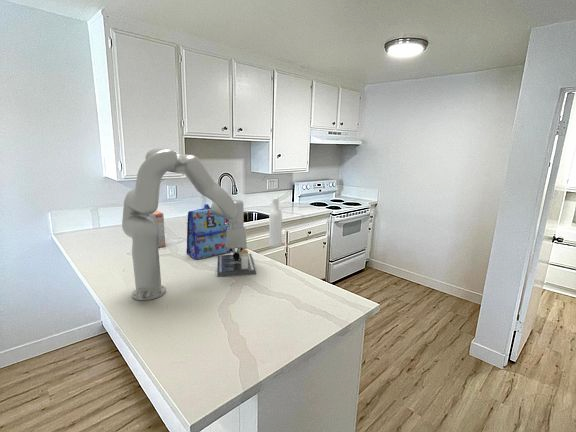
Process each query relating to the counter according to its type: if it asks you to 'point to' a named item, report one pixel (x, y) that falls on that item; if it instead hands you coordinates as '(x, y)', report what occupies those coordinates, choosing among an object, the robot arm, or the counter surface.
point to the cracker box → (159, 226)
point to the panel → (234, 266)
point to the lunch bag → (205, 233)
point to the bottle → (275, 225)
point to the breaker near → (244, 262)
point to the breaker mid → (244, 253)
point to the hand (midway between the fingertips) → (236, 260)
